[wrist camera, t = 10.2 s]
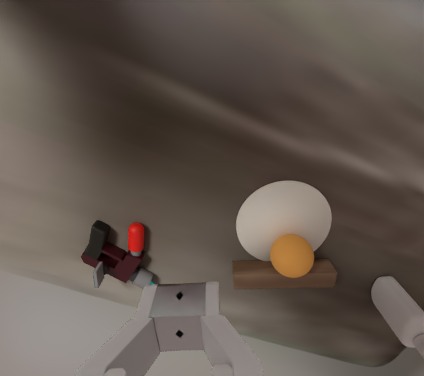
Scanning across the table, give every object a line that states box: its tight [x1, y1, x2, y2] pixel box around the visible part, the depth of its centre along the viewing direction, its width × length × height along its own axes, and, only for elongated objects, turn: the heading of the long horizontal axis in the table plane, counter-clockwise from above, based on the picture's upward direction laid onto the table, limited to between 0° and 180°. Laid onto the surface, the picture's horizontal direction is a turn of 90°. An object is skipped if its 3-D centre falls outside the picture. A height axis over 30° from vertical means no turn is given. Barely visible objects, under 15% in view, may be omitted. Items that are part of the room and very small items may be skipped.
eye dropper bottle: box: [371, 276, 424, 358], centre depth 35 cm, size 4×6×12 cm
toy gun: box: [81, 220, 155, 289], centre depth 36 cm, size 10×12×5 cm
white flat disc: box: [236, 180, 332, 261], centre depth 36 cm, size 13×13×1 cm
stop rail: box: [233, 259, 337, 289], centre depth 38 cm, size 2×14×3 cm, turn 92°
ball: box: [270, 234, 314, 278], centre depth 35 cm, size 6×6×6 cm
